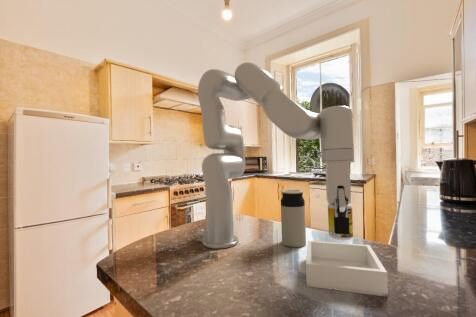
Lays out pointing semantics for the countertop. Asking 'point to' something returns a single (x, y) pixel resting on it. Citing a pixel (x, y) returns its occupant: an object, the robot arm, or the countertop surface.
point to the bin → (345, 268)
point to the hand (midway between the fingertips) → (340, 229)
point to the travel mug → (293, 218)
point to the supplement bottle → (331, 222)
